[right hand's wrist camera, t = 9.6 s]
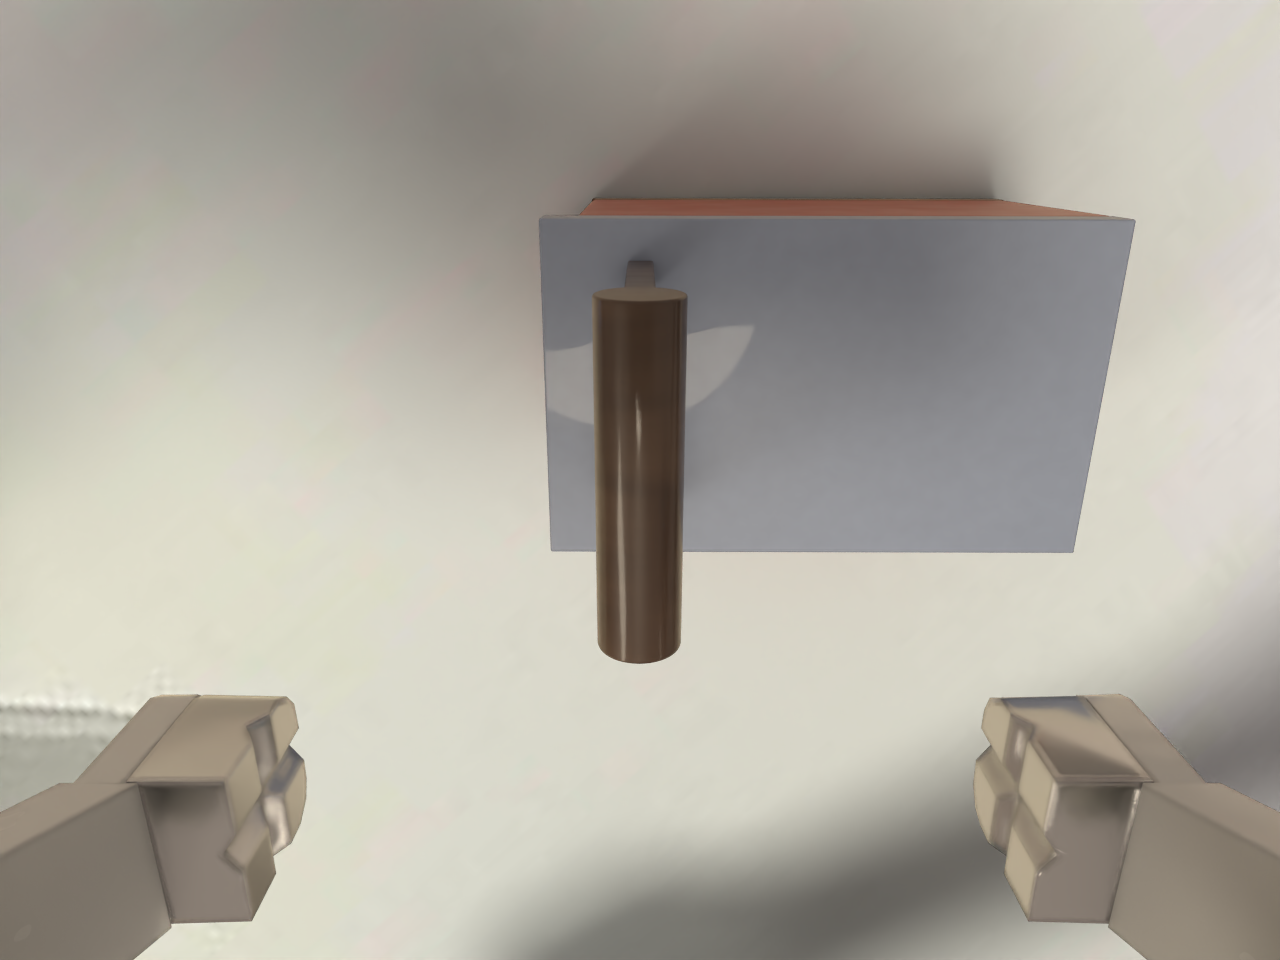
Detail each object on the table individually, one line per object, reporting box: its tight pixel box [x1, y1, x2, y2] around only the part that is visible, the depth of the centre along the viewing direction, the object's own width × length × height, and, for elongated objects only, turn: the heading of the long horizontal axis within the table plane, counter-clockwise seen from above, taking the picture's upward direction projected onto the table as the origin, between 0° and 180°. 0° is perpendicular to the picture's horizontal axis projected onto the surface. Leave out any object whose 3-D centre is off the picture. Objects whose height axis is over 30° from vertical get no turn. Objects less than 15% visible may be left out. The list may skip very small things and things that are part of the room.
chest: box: [580, 198, 1106, 216], centre depth 31 cm, size 15×10×9 cm, turn 90°
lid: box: [539, 215, 1135, 664], centre depth 22 cm, size 16×10×9 cm, turn 90°
